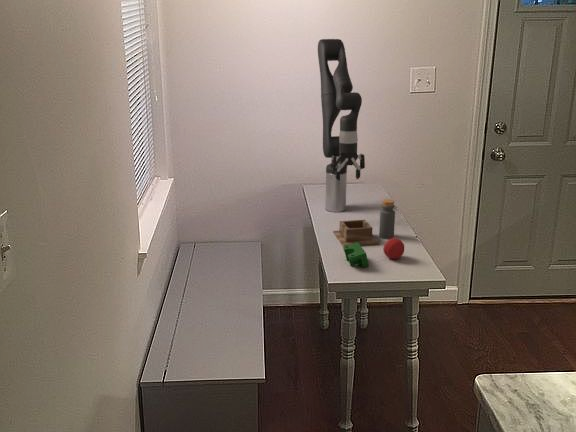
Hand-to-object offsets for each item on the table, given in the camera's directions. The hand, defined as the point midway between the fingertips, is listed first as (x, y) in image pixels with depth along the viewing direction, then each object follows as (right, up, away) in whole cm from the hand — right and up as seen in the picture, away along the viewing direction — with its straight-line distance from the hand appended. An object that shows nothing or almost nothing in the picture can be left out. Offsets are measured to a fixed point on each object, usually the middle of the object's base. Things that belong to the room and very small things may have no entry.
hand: (347, 179), depth 281 cm
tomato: (+13, -31, -36) cm, 49 cm away
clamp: (-1, -33, -40) cm, 52 cm away
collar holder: (+1, -24, -17) cm, 30 cm away
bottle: (+14, -24, -14) cm, 31 cm away
